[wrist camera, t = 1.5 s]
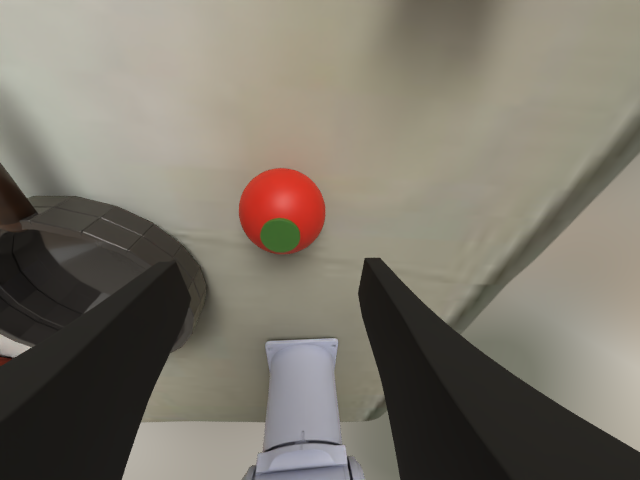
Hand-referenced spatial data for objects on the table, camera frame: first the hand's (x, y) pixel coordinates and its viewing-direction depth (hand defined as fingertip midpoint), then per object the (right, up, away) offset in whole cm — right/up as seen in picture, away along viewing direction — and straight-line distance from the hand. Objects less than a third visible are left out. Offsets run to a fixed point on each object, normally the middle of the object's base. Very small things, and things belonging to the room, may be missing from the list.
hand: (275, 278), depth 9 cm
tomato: (-1, +5, +7) cm, 8 cm away
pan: (-15, -1, +10) cm, 18 cm away
